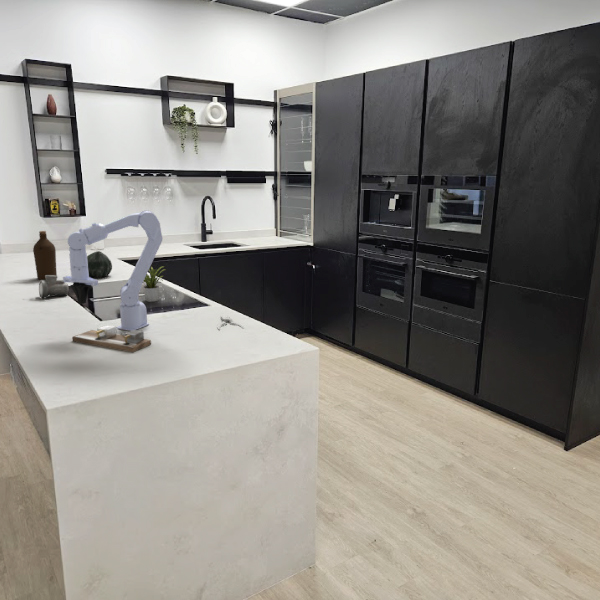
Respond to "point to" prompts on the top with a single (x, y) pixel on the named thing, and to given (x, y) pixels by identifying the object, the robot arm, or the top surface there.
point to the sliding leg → (106, 331)
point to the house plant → (152, 285)
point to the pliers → (228, 321)
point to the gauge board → (115, 340)
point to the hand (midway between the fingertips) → (82, 303)
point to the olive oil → (44, 257)
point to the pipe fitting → (52, 286)
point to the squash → (99, 264)
